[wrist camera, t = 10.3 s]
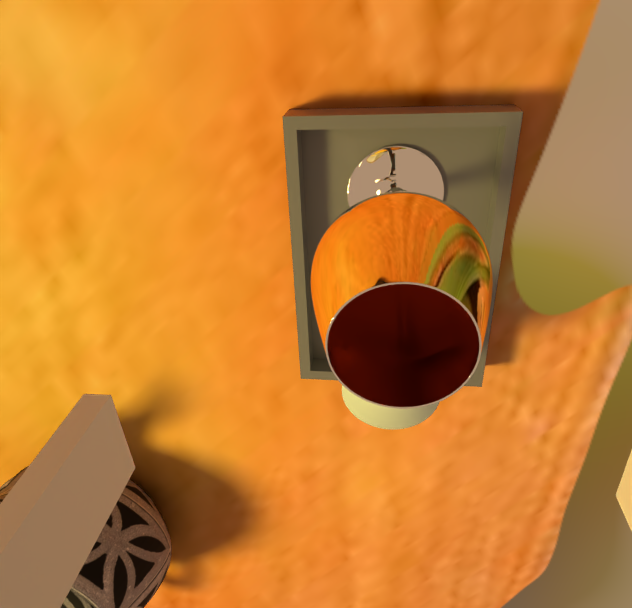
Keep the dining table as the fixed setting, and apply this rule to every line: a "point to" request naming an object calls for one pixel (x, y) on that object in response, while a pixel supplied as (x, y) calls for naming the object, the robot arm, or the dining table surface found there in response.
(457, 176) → the tray
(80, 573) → the teapot
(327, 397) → the dining table surface
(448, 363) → the wineglass
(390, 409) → the cream rounded cylinder
